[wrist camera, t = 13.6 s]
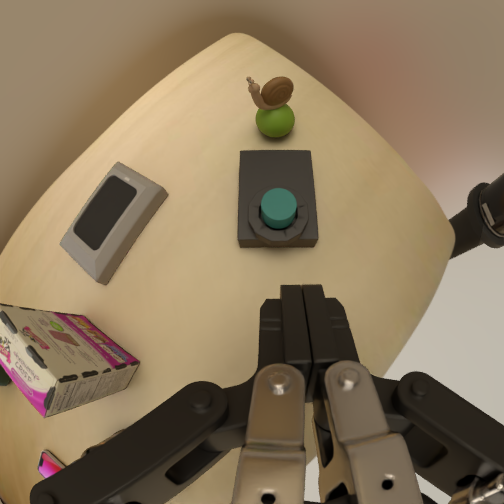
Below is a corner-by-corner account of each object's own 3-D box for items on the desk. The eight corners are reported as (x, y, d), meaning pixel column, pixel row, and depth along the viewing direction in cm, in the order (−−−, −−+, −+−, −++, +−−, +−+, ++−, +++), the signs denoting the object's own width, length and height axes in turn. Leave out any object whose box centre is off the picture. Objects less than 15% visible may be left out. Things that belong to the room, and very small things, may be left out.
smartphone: (103, 525, 22) (36, 470, 25) (105, 523, 23) (39, 469, 26) (113, 508, 24) (42, 448, 26) (116, 505, 25) (45, 446, 27)
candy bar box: (70, 342, 32) (-18, 338, 16) (82, 314, 33) (-7, 298, 17) (127, 391, 30) (42, 421, 14) (142, 362, 31) (56, 378, 15)
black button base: (314, 253, 34) (321, 240, 29) (240, 253, 34) (235, 241, 29) (307, 163, 37) (312, 142, 32) (242, 163, 38) (238, 142, 33)
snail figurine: (244, 129, 39) (236, 68, 28) (280, 113, 40) (281, 53, 28) (263, 153, 38) (260, 91, 26) (300, 135, 38) (308, 74, 27)
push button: (295, 229, 30) (297, 220, 27) (261, 229, 30) (261, 220, 28) (293, 198, 31) (295, 187, 28) (261, 198, 31) (260, 187, 29)
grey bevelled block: (54, 242, 32) (114, 156, 35) (68, 249, 36) (125, 168, 39) (91, 280, 31) (159, 181, 33) (106, 285, 34) (168, 194, 37)
